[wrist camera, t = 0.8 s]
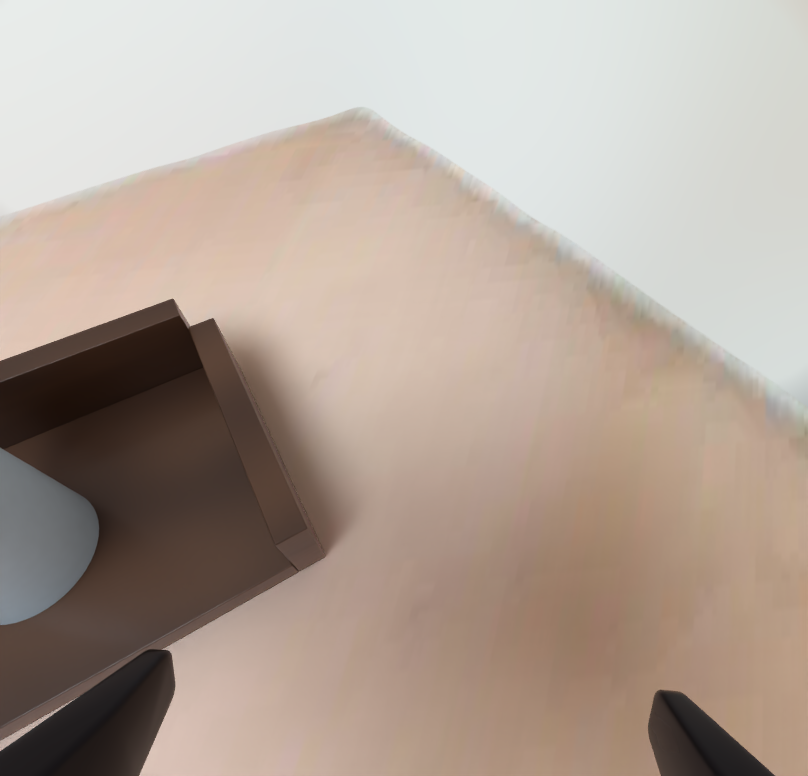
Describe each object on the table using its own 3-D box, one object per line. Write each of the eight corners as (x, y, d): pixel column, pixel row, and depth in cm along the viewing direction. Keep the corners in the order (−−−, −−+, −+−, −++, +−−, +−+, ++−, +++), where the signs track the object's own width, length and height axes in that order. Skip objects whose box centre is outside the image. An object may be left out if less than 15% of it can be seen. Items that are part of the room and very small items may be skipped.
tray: (326, 556, 23) (303, 520, 18) (-292, 905, 17) (-591, 997, 12) (233, 353, 31) (199, 288, 26) (-218, 537, 24) (-379, 497, 19)
